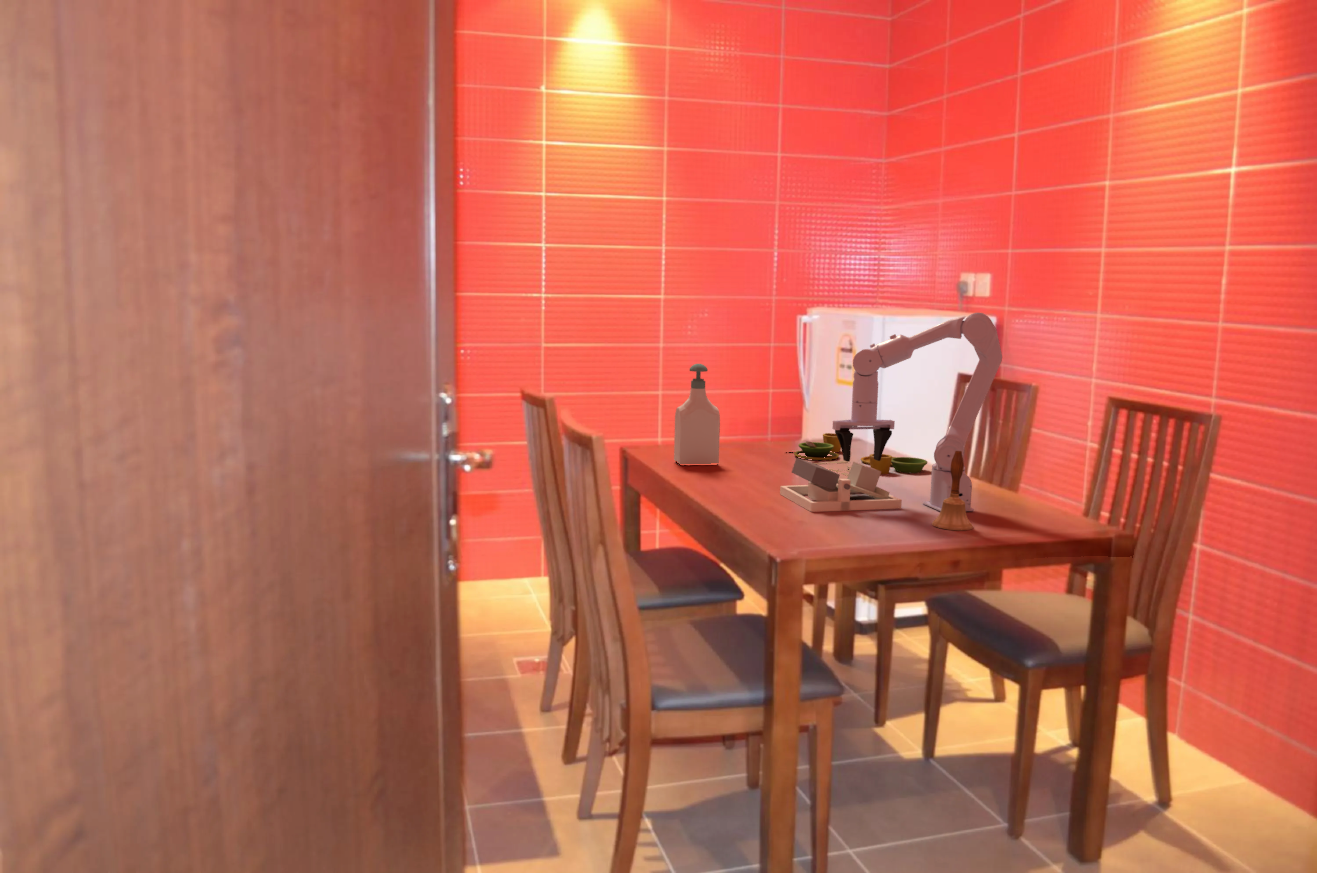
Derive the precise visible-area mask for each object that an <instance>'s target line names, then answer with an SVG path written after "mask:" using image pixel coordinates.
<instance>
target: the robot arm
mask: <svg viewBox="0 0 1317 873" xmlns="http://www.w3.org/2000/svg"><path fill="white" fill-rule="evenodd" d="M962 335H963V336H964V338H965V339H966V340H967V341H968V342H969V343H970V345H972V346H973V348H974V351H975V353H976V355H977V357H978V362H977V364H976V367H975V369H974V371H973V373H972V375H971V378H970V380H969V381H968V382H969V383H968V384H967V387H966V389H965V390H964V391H965V392H964V393H963V396H962V398H961V401H960V402H959V404H958V408H957V410H956V412H955V414H954V416H953V419H952V420H951V422H950V425H949V427H948V429H947V431H946V434H945V435H944V436H943V437H942V438H941V439H940V440H938V441H937V444H936V445H935V450H934V452H933V458H934V461H935V463H933V464H931V477H930V478H931V480H930V495H929V496H930V497H929V500H927V501H926V500H925V501H922V502H921V503H922V504H923V505H925V506H927V507H930V508H932V509H934V510H936V511H938V512H941V509H942V505H943V501H944V500H945V499H947V498H949V497H950V494H951V487H952V476H951V461H952V459H953V456H954V454H955V451H962V457H963V458H964V454H965V446H966V442H967V440H968V437H969V434H970V433H971V430H972V428H973V426H974V423H975V421H976V419H977V417H978V416H979V415H978V414H979V412H980V410H981V408H982V406H983V403H984V402H985V399H986V397H987V395H988V392H989V390H990V388H991V386H992V383H993V382H994V379H995V376H996V374H997V372H998V371H999V367H1000V366H1001V363H1002V362H1003V353H1002V348H1001V345H1000V340H999V335H998V330H997V328H996V326H995V324H994V323H993V321H992V319H991V318H990V317H989V316H988V315H987V314H985V313H983V312H974V313H971V314H969V315H968V316H965V315H964V316H960V317H955V318H952V319H948V320H945V321H944V322H942V323H939V324H937V325H934V326H932V327H930V328H927V329H925V330H923V331H921V332H919V333H917V334H914V335H912V336H910V337H909V336H906V335H904V334H899V335H896V334H891V335H890V336H889V338H888V339H886V340H884V341H882V342H880V343H877V344H875V343H872V344H870V345H869V347H870V348H864V349H861V350H860V351H858V352H857V353H856V354H855V355H854V357H853V359H852V367H853V369H854V372H853V382H852V396H851V397H852V398H851V418H850V419H841V420H833V421H832V429H833V430H834V433H835V434H836V435H837V438H838V440H839V442H840V445H841V453H842V459H843V460H842V461H847V462H848V461H849V462H851V453H852V452H851V450H852V449H851V448H852V442H853V436H854V433H853V432H851V430H872V431H873V432H872V433H873V443H874V444H873V445H874V446H873V454H874V459H875V460H877V461H880V460H881V456H882V454H884V450H885V447H886V445H887V443H888V441H889V439H891V437H892V434H893V433H892V432H893V430H895V420H893V419H892V420H891V419H877V418H878V401H879V400H878V398H879V380H878V378H879V371H878V370H879V369H880V368H882V369H886V368H889V367H891V366H893V365H896V364H899V363H901V362H904V361H907V360H909V359H911V357H912V356H913V353H914V351H915V350H918V349H921V348H924V347H925V346H929V345H931V344H935V343H936V342H940V341H942V340H945V339H948V338H949V339H959V340H961V339H962V337H963V336H962ZM972 482H973V481H972V480H971V478H970V477H969V476H968V474H967V473H966V466H965V465H964V468H963V473H962V476H961V479H960V486H959V498H960V499H961V500H963V501H964V502H965V509H966V512H974V511H975V509H974V508H972V506H971V504H972V490H973V489H972V488H973V483H972Z"/></svg>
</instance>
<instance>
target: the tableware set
mask: <svg viewBox="0 0 1317 873" xmlns="http://www.w3.org/2000/svg"><path fill="white" fill-rule="evenodd" d="M822 440H823V442H816V441H805V442H801V443H799V444H798V447H799V449H801V451H799V450H795V451H796V452H794V453H793V455H794V456H795V457H796V456H797V457H801V458H805V459H812V460H811V461H814V460H829V461H824V462H813V463H814V464H817V465H828V464H827V463H837V464H849V463H848V462H850V461H848V462H847V461H844V460H839V462H838V461H835V460H837V458H839V456H840V454H839V453H834V452H838V451H840V452H841V451H842V449H841V445H840V442H839V440H838V438H837V435H836V434H835V432H834V433H832V432H831V433H830V432H825V433H823V434H822ZM830 451H832V452H830ZM799 453H805V455H806V456H807V457H806V456H801V455H798V454H799ZM828 454H830V455H832V456H827V455H828ZM797 457H796V458H797ZM824 457H825V458H824ZM805 459H804V460H805ZM832 459H835V460H834V461H833V460H832ZM842 461H843V462H842ZM860 461H861V462H862V463H863V464H865V465H868V466H869V467H871V468H874V469H876V470H878V471H881V474H880V475H888V474H890V470H891V467H893V469H894V470H895V472H898V473H899V472H900V473H902V474H903V473H905V474H918V473H921V472H922V470H923V468H924V467H925V466H926V465H928V461H927V460H926V459H923V458H919V457H911V456H910V457H909V456H908V457H907V456H897V457H896V456H892V455H891V454H886V453H882V456H881V460H880V461H877V460H875V459H874V453H870V454H869V455H867V456H863V457H861V458H860ZM825 463H826V464H825ZM847 467H848V469H850V468H851V467H852V466H847ZM829 470H832V471H833V472H835V471H836V472H835V473H838V472H842V470H839V469H838V470H833V469H829ZM847 472H848V473H847ZM849 472H850V470H846V472H844V473H841V474H840V475H843V476H846V475H847V476H846V477H848V475H849Z"/></svg>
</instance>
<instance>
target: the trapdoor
mask: <svg viewBox="0 0 1317 873" xmlns="http://www.w3.org/2000/svg"><path fill="white" fill-rule="evenodd" d="M814 463H815V462H810V461H809V460H805V459H800V458H797V457H796V458H795V461H794V464H793V466H792V470H791V473H792V474H794V475H796V476H798V477H800V478H801V479H804V480H806V481H807V482H809V481H810V482H812V483H815V484H818V485H821V486H824V487H827V488H830V489H833V490H835V487H836V484H838V480H839V479H840V475H841V474H840V473H838V472H835V471H831V470H828V469H826V468H827V467H824V466H822V465H821V464H814ZM850 488H851V489H854V490H857V491H860V492H863V493H862V494H864V493H866V494H869V495H872V496H875V497H878V498H882V499H888V496H889V494H890V492H891V491H888V490H886V489H883V488H881V487H878V486H877V485H876V488H875V491H874V492H872V491H869V490H866V489H863V488H860V487H857V486H854V485H852V484H850ZM866 494H865V495H866Z"/></svg>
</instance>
